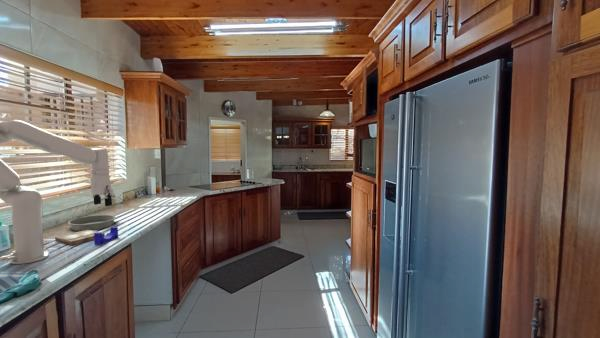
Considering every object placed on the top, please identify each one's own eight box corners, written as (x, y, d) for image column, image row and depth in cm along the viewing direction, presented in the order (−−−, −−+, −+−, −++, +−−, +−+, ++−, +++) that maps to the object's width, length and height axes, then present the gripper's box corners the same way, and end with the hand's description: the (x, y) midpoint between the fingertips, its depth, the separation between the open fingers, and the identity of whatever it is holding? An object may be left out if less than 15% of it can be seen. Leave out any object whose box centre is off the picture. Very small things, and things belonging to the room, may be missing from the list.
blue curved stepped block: (110, 237, 164) (110, 226, 164) (118, 237, 163) (117, 227, 163) (92, 244, 152) (91, 233, 152) (99, 245, 152) (99, 233, 151)
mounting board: (71, 245, 151) (71, 241, 150) (55, 240, 158) (55, 236, 158) (104, 236, 165) (104, 232, 165) (88, 232, 172) (88, 229, 172)
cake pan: (76, 234, 170) (75, 226, 170) (62, 227, 185) (62, 220, 185) (123, 225, 190) (122, 218, 189) (107, 219, 205) (106, 212, 204)
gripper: (83, 172, 156) (85, 205, 157) (102, 173, 148) (105, 208, 149) (98, 171, 162) (100, 202, 164) (118, 172, 154) (120, 205, 156)
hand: (103, 204), depth 157 cm, fingers open, 9 cm apart
